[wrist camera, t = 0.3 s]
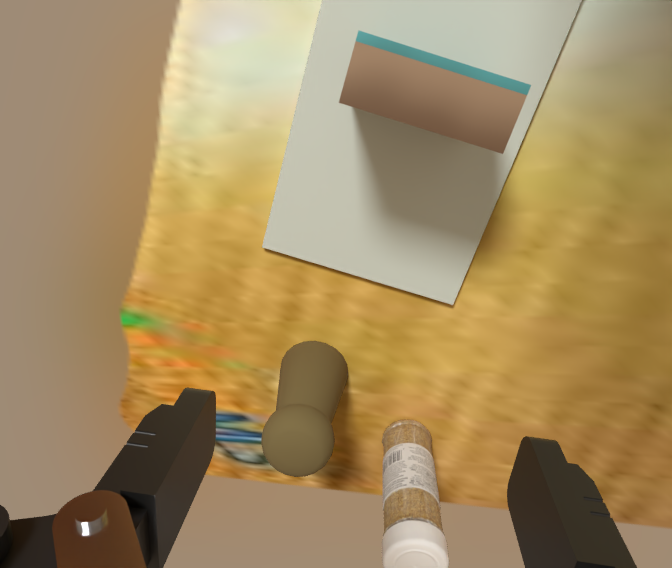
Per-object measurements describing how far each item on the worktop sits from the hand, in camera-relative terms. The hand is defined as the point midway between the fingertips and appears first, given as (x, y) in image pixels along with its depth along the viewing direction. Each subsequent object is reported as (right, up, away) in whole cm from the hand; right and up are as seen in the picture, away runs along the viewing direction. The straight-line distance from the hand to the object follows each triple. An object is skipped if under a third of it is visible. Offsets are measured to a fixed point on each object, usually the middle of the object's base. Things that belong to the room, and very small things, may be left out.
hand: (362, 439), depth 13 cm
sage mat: (+4, +15, +23) cm, 28 cm away
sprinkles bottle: (+6, -10, +34) cm, 36 cm away
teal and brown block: (+5, +17, +22) cm, 28 cm away
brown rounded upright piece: (-3, -4, +32) cm, 32 cm away
